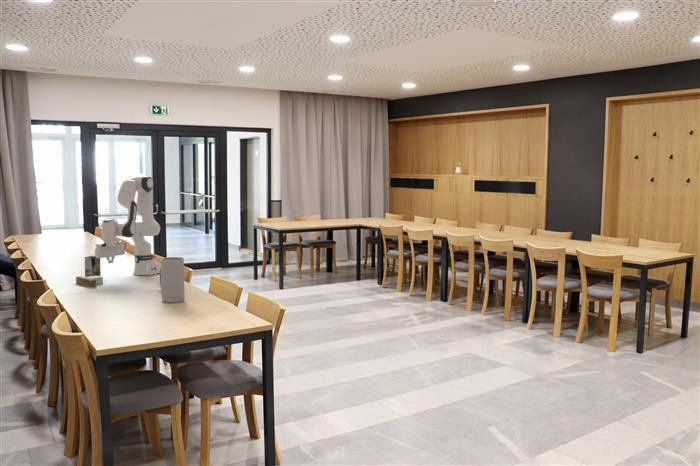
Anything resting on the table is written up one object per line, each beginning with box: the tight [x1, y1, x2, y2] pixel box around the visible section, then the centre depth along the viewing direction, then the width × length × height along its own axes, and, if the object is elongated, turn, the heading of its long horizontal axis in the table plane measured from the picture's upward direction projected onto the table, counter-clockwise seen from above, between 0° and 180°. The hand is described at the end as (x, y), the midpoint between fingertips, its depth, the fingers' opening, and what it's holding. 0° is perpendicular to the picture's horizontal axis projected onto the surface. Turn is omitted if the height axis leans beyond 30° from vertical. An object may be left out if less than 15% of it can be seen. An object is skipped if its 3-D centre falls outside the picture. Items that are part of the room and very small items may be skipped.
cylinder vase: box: [160, 256, 185, 304], centre depth 351 cm, size 12×12×25 cm
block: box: [86, 276, 104, 286], centre depth 401 cm, size 8×8×5 cm
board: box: [75, 275, 97, 288], centre depth 396 cm, size 3×20×4 cm, turn 51°
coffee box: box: [84, 255, 102, 277], centre depth 417 cm, size 9×6×16 cm
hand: (110, 262), depth 410 cm, fingers closed
